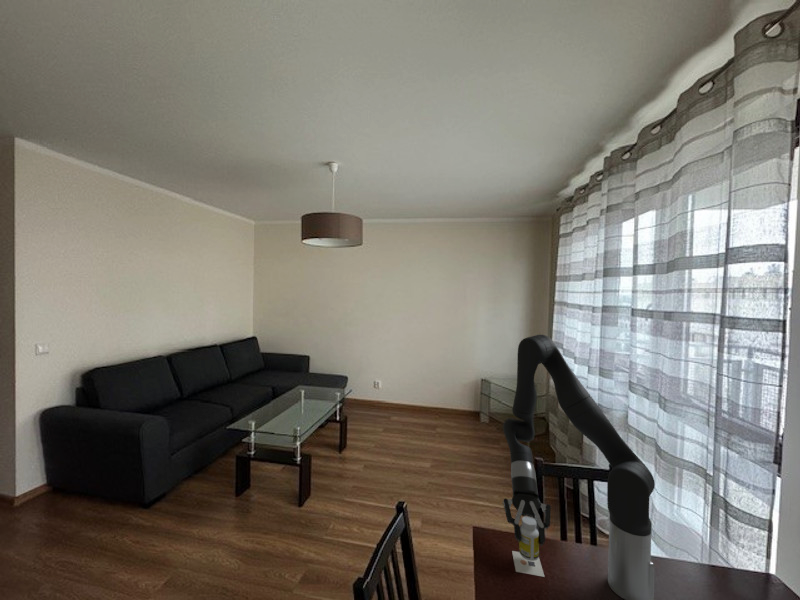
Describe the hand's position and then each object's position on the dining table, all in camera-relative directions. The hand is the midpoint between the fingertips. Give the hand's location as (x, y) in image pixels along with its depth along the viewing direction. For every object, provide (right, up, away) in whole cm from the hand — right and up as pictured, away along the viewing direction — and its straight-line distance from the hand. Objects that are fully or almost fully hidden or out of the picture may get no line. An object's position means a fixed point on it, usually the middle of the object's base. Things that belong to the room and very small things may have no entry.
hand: (530, 542), depth 94 cm
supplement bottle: (0, -5, +2) cm, 5 cm away
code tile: (0, -7, +2) cm, 7 cm away
